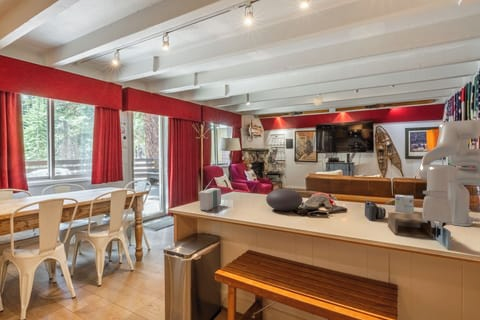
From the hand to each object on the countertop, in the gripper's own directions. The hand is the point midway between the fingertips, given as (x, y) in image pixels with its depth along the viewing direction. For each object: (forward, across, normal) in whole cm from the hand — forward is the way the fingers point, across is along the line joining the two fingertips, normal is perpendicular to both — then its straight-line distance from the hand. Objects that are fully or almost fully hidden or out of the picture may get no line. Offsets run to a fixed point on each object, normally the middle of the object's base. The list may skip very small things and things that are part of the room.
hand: (436, 236), depth 115 cm
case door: (+4, +2, +4) cm, 6 cm away
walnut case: (+4, -11, +15) cm, 19 cm away
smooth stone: (+4, -86, +20) cm, 88 cm away
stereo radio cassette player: (+4, -132, -5) cm, 132 cm away
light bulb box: (+4, -19, +64) cm, 67 cm away
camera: (+4, -31, +34) cm, 46 cm away
